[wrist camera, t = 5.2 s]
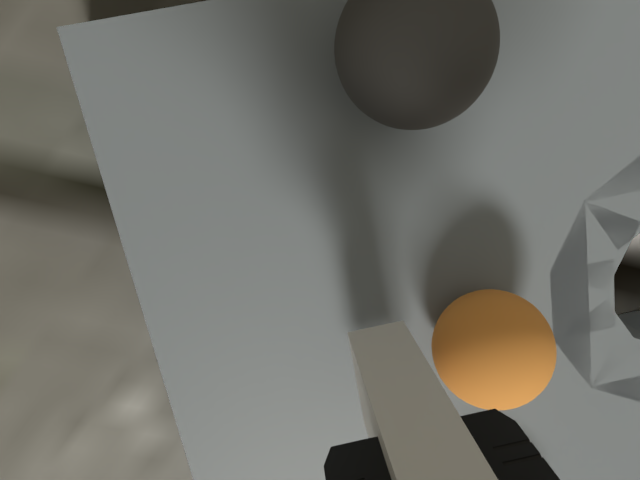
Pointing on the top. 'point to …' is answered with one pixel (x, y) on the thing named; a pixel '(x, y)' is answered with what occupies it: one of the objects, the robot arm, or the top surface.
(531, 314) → the ball
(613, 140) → the plate
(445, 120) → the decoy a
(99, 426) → the top surface
